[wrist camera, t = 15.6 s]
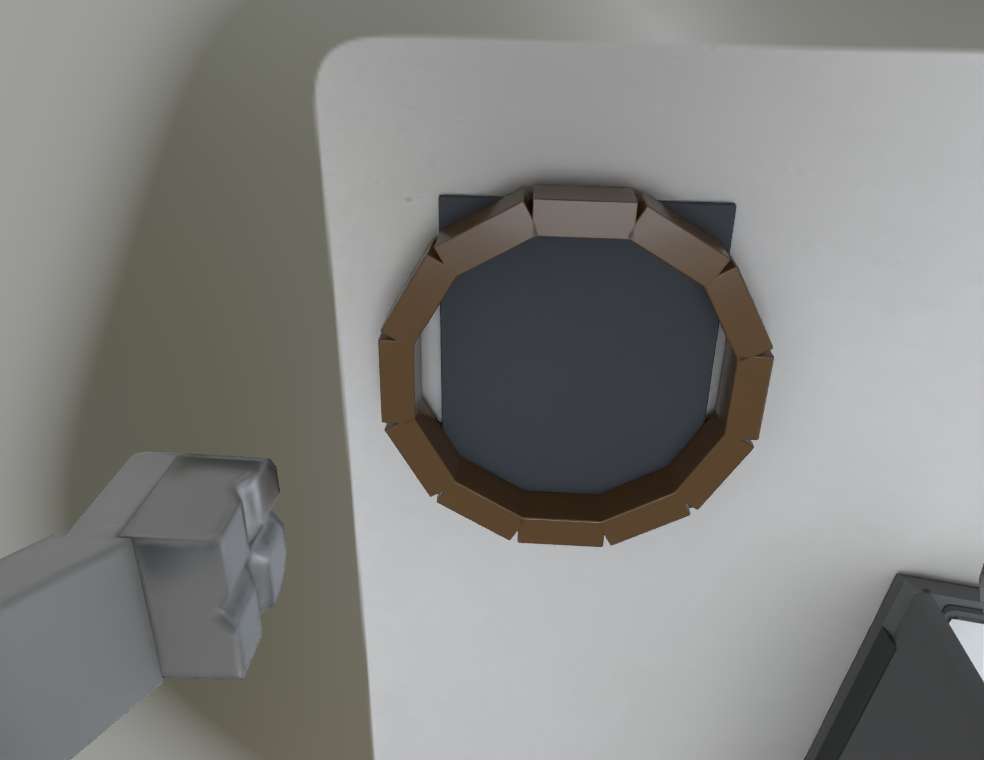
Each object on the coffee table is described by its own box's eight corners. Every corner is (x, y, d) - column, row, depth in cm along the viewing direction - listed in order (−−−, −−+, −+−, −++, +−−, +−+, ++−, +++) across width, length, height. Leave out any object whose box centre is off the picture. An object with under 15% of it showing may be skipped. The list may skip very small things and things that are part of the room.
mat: (439, 194, 38) (438, 197, 37) (734, 202, 37) (736, 205, 37) (443, 493, 45) (443, 497, 44) (691, 503, 44) (692, 508, 44)
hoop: (381, 178, 37) (371, 192, 35) (788, 193, 36) (803, 208, 34) (393, 508, 45) (386, 536, 43) (727, 525, 44) (736, 554, 42)
